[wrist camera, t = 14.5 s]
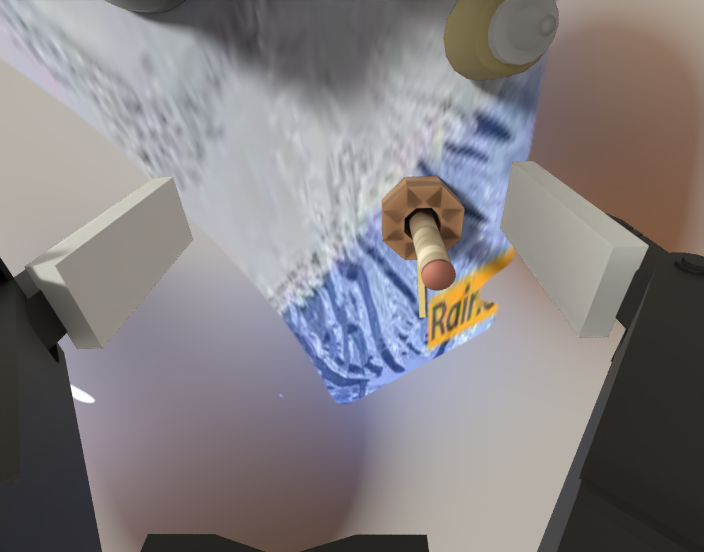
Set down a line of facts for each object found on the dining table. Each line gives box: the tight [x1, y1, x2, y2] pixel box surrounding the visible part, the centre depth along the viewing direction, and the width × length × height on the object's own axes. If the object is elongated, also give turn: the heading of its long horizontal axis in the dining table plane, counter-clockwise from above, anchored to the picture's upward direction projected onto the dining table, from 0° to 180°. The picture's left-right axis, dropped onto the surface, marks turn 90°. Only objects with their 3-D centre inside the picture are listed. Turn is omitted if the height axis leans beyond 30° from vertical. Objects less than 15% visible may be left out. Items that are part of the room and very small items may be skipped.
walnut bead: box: [382, 176, 465, 260], centre depth 48 cm, size 10×10×4 cm
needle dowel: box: [407, 208, 456, 290], centre depth 43 cm, size 3×3×16 cm
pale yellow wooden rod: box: [417, 260, 426, 317], centre depth 56 cm, size 11×1×1 cm, turn 8°
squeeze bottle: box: [444, 0, 558, 80], centre depth 31 cm, size 8×8×18 cm
